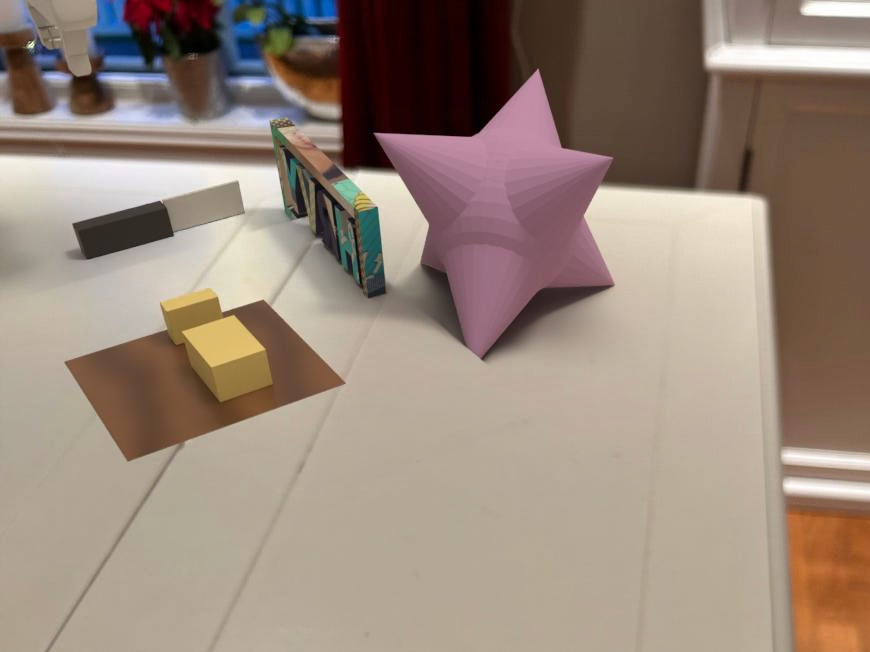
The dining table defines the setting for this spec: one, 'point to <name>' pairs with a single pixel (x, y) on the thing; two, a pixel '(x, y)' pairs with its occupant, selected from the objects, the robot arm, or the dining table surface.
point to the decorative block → (329, 205)
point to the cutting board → (192, 384)
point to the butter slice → (190, 312)
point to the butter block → (227, 358)
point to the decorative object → (503, 211)
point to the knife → (157, 219)
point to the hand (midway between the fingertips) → (67, 60)
